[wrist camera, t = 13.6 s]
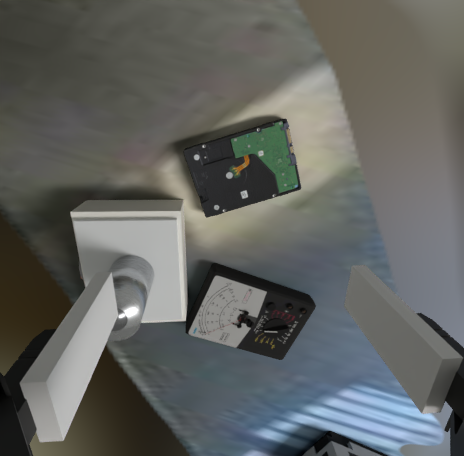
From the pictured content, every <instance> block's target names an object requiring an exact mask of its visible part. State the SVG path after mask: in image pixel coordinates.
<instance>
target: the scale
mask: <svg viewBox="0 0 464 456" xmlns="http://www.w3.org/2000/svg"><path fill="white" fill-rule="evenodd" d="M70 213H71V218H72V223H73V228H74V233H75V238H76V243H77V248H78V253H79V258H80V259H79V271H80V275H81V279H83V280H84V284H85V288H86V287H87V285H88V284H89V282H90V281H91V279H92V278H93V277H94V275H95V274H96V272H108V270H109V269H110V267H111V266H112V264H113V263H114V261H116V260H117V259H118V258H120V257H122V256H126V255H135V256H139V257H142V258H144V259H145V260H147V261H148V262H149V263H150V264H151V266H152V268H153V270H154V280H153V284H152V287H151V290H150V294H149V297H148V300H147V304H146V307H145V310H144V313H143V317H142V320H141V323H148V322H172V321H186V315H187V304H188V290H187V267H186V245H185V222H184V200H86V201H85V202H83V203H82V204H81V205H79V206H78V207H76V208H75V209H74V210H72V211H71V212H70Z"/></svg>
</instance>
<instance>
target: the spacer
mask: <svg viewBox="0 0 464 456" xmlns="http://www.w3.org/2000/svg"><path fill="white" fill-rule="evenodd" d="M108 272H112V278H113V284H114V291H115V297H116V304H117V310H118V317H117V319H116V321H115V324H114V326H113V328H112V330H111V333H110V335H109V337H108V341H120V340H124V339H127V338H129V337H131V336H132V335H134V334H135V333H136V332H137V330H138V329H139V327H140V323H141V320H142V317H143V313H144V310H145V307H146V304H147V300H148V297H149V294H150V290H151V287H152V284H153V280H154V270H153V268H152V266H151V264H150V263H149V262H148V261H147V260H145V259H144V258H142V257H139V256H135V255H126V256H122V257H120V258H118V259H117V260H116V261H114V263H113V264H112V266H111V267H110V269H109V270H108Z"/></svg>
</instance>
